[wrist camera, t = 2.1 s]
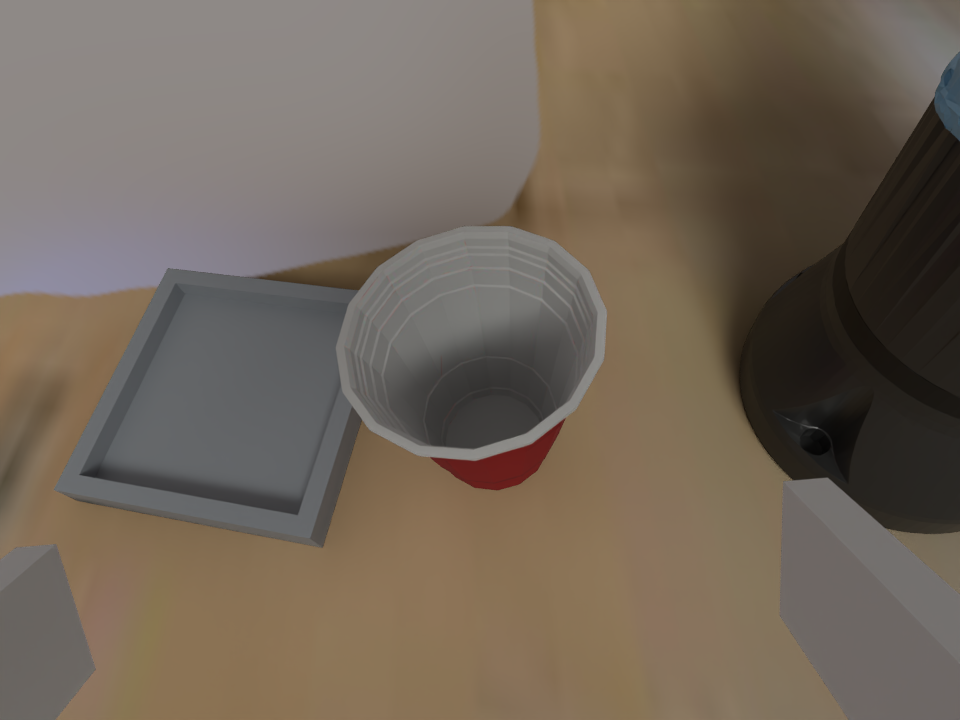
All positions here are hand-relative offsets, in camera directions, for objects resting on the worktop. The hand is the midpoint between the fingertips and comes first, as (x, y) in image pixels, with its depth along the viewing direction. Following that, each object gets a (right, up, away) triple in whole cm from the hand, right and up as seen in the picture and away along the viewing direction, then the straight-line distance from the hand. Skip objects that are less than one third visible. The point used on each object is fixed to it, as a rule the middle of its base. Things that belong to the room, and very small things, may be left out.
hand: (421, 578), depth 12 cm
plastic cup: (+2, 0, +24) cm, 24 cm away
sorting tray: (-13, +2, +26) cm, 29 cm away
